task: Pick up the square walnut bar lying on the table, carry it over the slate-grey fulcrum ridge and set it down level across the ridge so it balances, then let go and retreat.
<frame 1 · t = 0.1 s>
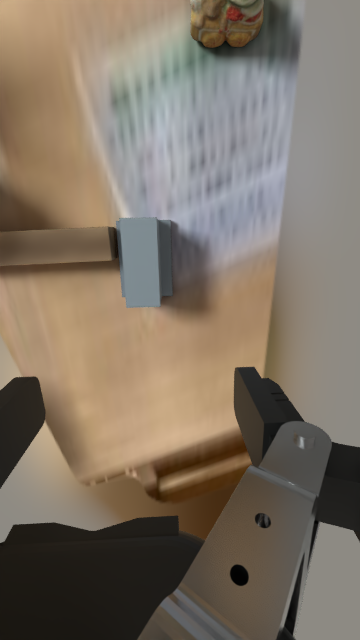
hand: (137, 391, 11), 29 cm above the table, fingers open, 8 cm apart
walnut bar: (42, 246, 38), on the table
ornament: (222, 20, 31), on the table
fulcrum ridge: (146, 259, 38), on the table
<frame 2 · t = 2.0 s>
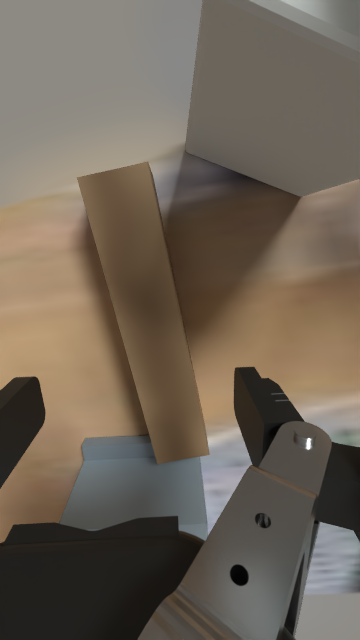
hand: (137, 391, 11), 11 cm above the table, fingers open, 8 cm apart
walnut bar: (157, 319, 22), on the table
soap bottle: (267, 105, 18), on the table
fulcrum ridge: (144, 467, 26), on the table
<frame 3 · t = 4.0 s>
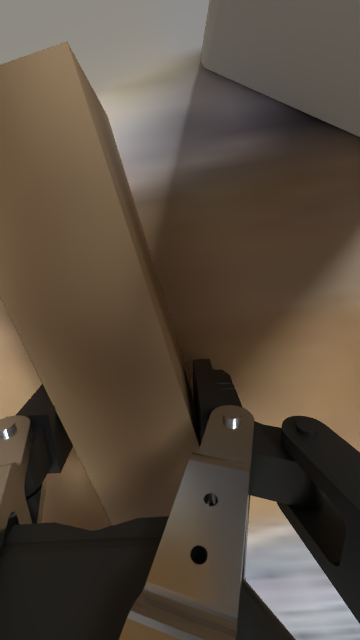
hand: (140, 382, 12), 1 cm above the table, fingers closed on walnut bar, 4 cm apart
walnut bar: (142, 372, 13), on the table, touching gripper
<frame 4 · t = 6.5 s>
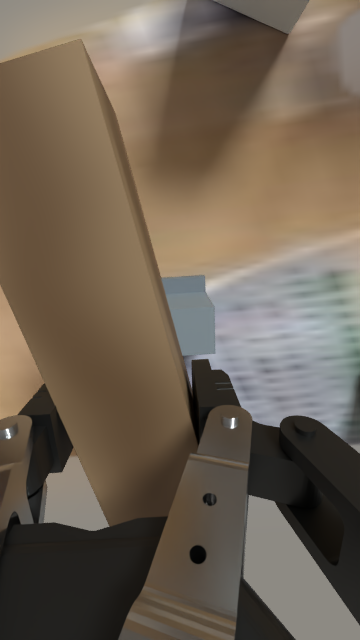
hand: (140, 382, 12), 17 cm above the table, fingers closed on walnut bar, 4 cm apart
walnut bar: (142, 371, 13), point 16 cm above the table, touching gripper
fulcrum ridge: (157, 311, 29), on the table
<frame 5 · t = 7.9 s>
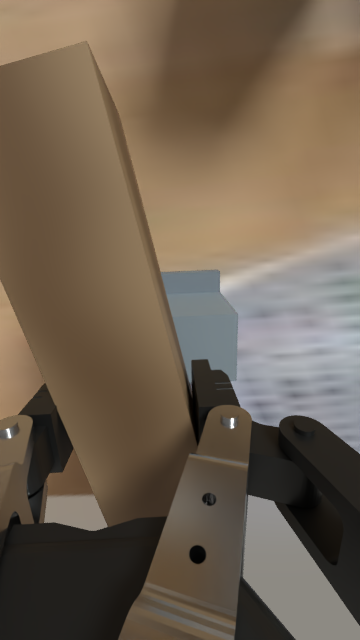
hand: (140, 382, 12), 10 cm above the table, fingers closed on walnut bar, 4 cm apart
walnut bar: (142, 372, 13), point 10 cm above the table, touching gripper
fulcrum ridge: (154, 316, 22), on the table
when the fingers open (9 cm above the table, at t = 9.1 s): walnut bar stays where it is, resting on fulcrum ridge.
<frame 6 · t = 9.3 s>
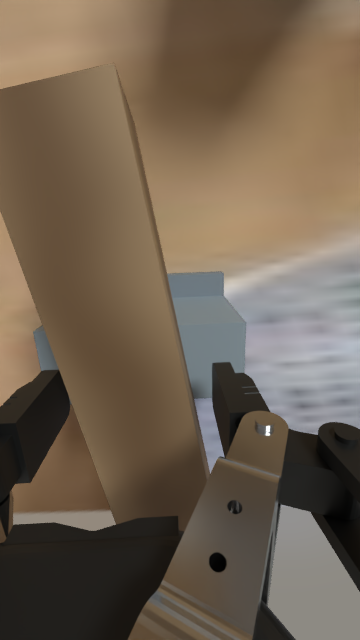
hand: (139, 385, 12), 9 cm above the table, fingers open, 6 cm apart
walnut bar: (145, 365, 14), point 7 cm above the table, touching fulcrum ridge
fulcrum ridge: (152, 322, 20), on the table
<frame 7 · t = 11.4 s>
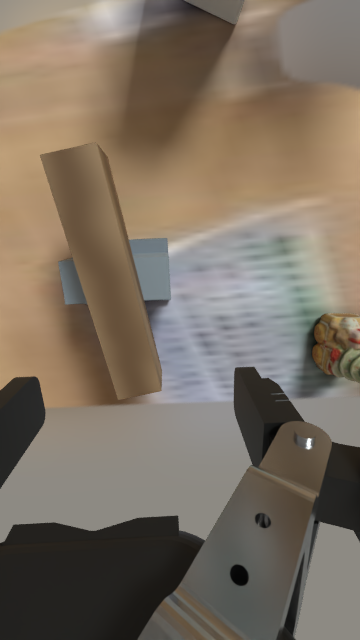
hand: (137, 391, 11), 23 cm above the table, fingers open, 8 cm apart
walnut bar: (117, 280, 26), point 7 cm above the table, touching fulcrum ridge
ornament: (331, 336, 37), on the table
fulcrum ridge: (126, 271, 33), on the table
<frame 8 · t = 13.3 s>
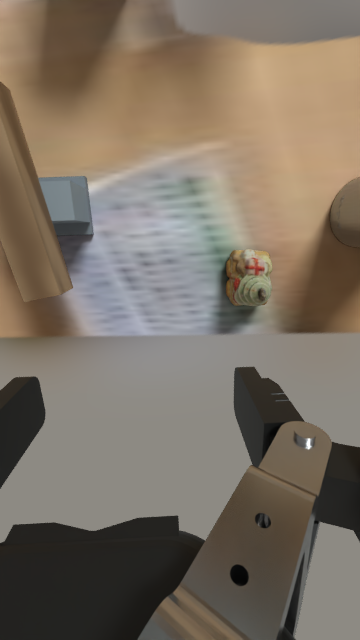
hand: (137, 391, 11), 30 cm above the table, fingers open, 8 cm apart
walnut bar: (26, 202, 30), point 7 cm above the table, touching fulcrum ridge
ornament: (244, 275, 41), on the table
fulcrum ridge: (52, 208, 37), on the table
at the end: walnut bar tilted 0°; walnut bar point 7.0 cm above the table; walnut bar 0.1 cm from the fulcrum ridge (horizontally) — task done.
